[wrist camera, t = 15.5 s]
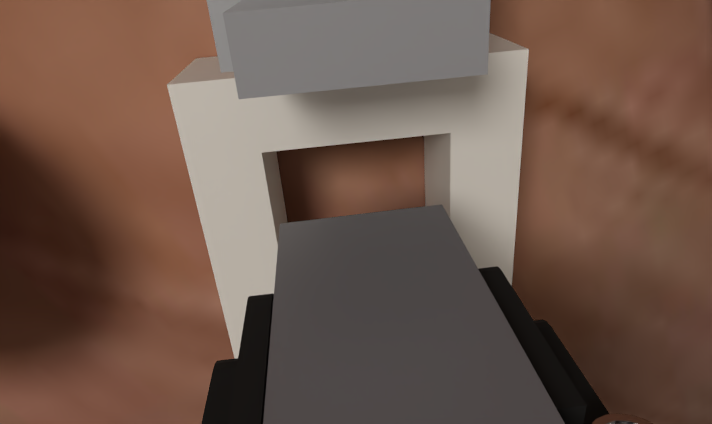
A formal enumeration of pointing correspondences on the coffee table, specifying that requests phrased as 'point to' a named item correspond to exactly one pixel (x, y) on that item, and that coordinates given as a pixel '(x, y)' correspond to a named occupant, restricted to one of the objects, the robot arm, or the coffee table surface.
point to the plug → (392, 328)
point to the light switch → (343, 126)
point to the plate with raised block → (347, 42)
